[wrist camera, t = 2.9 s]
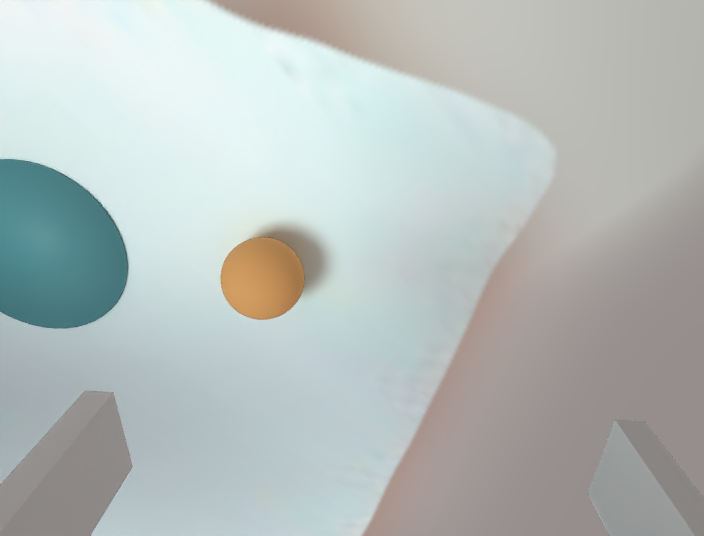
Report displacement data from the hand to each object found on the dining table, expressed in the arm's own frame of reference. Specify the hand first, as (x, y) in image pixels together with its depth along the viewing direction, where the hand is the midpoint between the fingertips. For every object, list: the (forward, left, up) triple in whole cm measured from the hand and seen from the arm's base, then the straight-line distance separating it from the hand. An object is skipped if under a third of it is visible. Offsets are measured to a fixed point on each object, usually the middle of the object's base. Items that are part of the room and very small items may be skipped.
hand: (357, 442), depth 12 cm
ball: (-4, +6, -17) cm, 19 cm away
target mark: (-4, +23, -20) cm, 31 cm away
